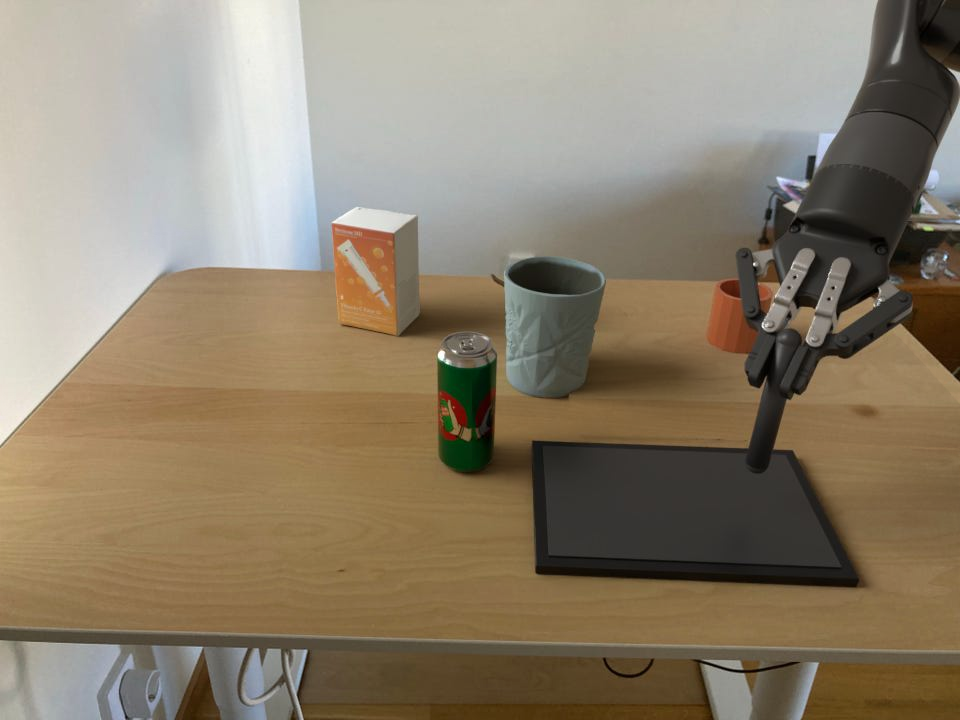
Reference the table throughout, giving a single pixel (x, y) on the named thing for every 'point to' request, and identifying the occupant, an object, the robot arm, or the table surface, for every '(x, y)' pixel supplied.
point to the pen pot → (733, 317)
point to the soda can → (466, 401)
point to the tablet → (680, 516)
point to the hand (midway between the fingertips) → (769, 389)
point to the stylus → (771, 402)
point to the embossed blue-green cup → (550, 323)
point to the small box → (376, 269)
